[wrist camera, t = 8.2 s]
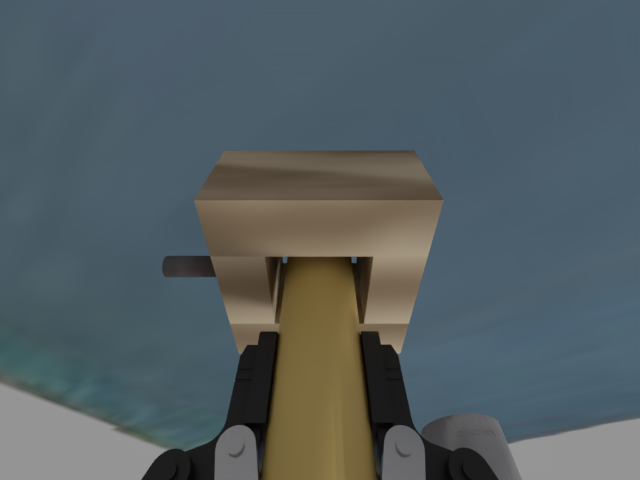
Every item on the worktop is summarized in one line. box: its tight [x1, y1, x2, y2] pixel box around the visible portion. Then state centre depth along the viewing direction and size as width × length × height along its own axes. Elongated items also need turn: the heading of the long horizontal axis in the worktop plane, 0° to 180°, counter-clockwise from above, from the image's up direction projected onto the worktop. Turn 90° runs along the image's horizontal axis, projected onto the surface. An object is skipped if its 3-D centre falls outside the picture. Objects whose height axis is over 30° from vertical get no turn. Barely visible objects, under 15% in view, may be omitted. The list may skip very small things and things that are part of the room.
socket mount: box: [162, 150, 444, 354], centre depth 18 cm, size 11×14×5 cm
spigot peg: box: [261, 257, 377, 480], centre depth 12 cm, size 4×4×14 cm
